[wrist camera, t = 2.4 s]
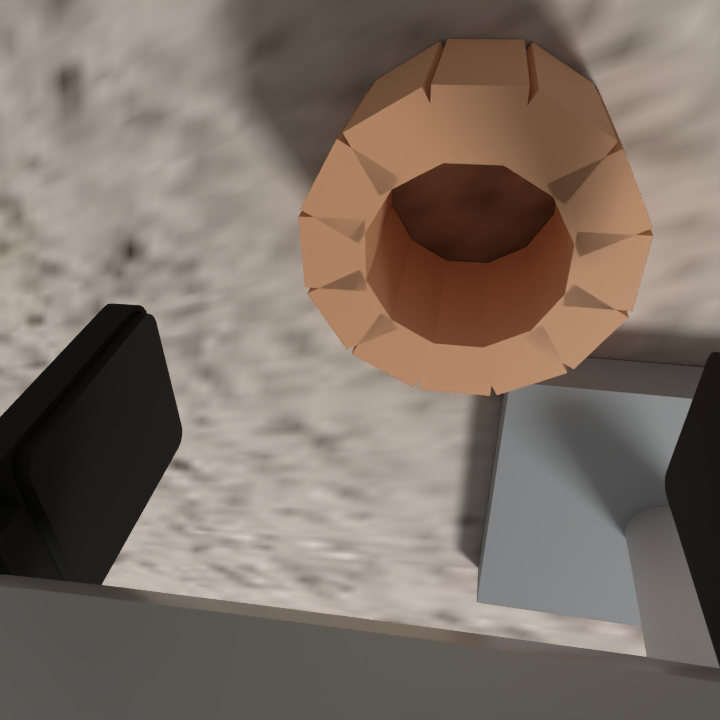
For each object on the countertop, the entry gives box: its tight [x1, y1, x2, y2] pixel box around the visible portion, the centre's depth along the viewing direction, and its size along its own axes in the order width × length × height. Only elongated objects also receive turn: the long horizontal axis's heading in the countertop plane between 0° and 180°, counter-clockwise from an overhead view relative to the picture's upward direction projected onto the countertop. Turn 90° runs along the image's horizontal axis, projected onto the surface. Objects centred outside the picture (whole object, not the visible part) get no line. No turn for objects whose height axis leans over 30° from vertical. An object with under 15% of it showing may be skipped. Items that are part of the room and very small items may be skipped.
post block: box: [477, 357, 720, 668], centre depth 18 cm, size 11×11×8 cm
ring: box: [299, 39, 653, 396], centre depth 15 cm, size 7×7×4 cm
